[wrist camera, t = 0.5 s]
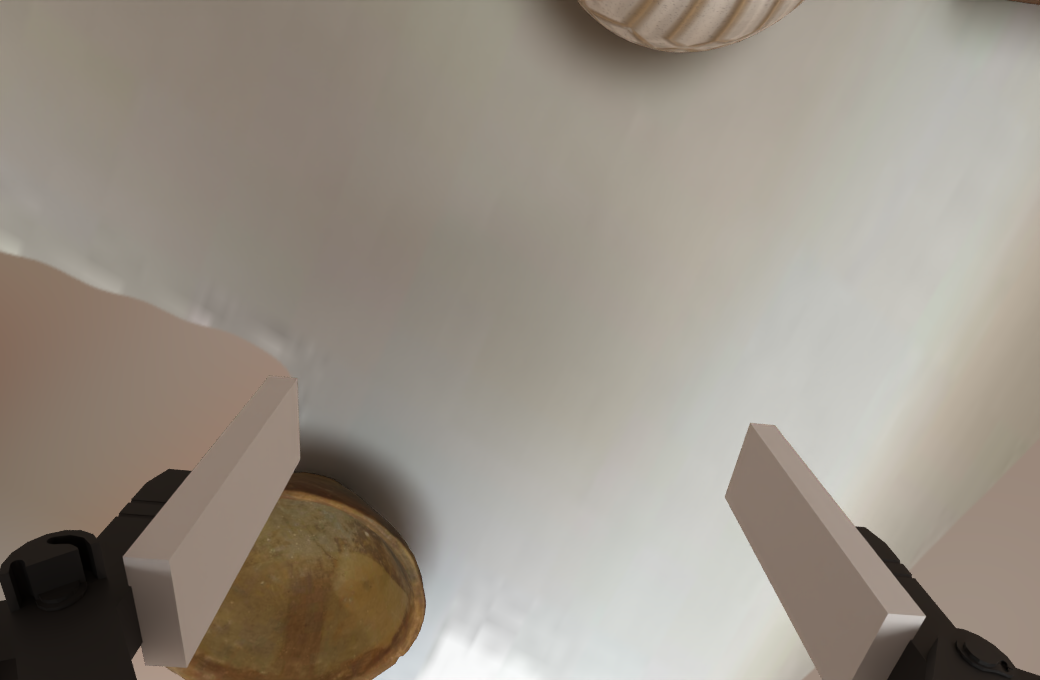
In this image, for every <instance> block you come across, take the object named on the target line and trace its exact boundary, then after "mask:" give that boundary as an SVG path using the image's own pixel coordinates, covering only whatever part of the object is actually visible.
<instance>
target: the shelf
mask: <svg viewBox="0 0 1040 680" xmlns="http://www.w3.org/2000/svg"><path fill="white" fill-rule="evenodd" d="M1010 1H1017V2H1023V3H1030V4H1037V5H1040V0H1010Z"/></svg>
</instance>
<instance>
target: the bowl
mask: <svg viewBox="0 0 1040 680" xmlns="http://www.w3.org/2000/svg"><path fill="white" fill-rule="evenodd" d="M425 608H426V600H425V593H424V588H423V582H422V576H421V573H420V570H419V567H418V565H417V562H416V559H415V557H414V555H413V553H412V552H411V550H410V548H409V547H408V545H407V544H406V542H405V541H404V540H403V538H402V537H401V536H400V534H399V533H398V532H397V531H396V530H395V529H394V528H393V526H392V525H391V524H390V523H389V522H387V521H386V520H385V519H384V518H383V517H382V516H380V515H379V514H378V513H377V512H376V511H375V510H374V509H372V508H371V507H370V506H369V505H368V504H367V503H366V502H365V501H364V500H362V499H361V498H360V497H359V496H358V495H357V494H355V493H354V492H352V491H350V490H349V489H347V488H346V487H344V486H342V485H341V484H340V483H338V482H337V481H335V480H334V479H331V478H328V477H325V476H321V475H317V474H312V473H306V472H301V473H293V474H292V476H291V477H290V479H289V481H288V483H287V485H286V487H285V488H284V490H283V492H282V494H281V496H280V498H279V499H278V501H277V503H276V505H275V507H274V509H273V510H272V512H271V514H270V516H269V518H268V520H267V521H266V523H265V525H264V527H263V529H262V531H261V532H260V534H259V536H258V538H257V540H256V542H255V543H254V545H253V547H252V549H251V551H250V553H249V555H248V556H247V558H246V560H245V562H244V564H243V566H242V567H241V569H240V571H239V573H238V575H237V577H236V578H235V580H234V582H233V584H232V586H231V588H230V589H229V591H228V593H227V595H226V597H225V599H224V600H223V602H222V604H221V606H220V608H219V610H218V611H217V613H216V615H215V617H214V619H213V621H212V622H211V624H210V626H209V628H208V630H207V632H206V633H205V635H204V637H203V639H202V641H201V643H200V644H199V646H198V648H197V650H196V652H195V654H194V655H193V657H192V659H191V661H190V663H189V665H188V666H187V668H182V667H166V668H168V669H169V670H171V671H172V672H174V673H176V674H178V675H179V676H181V677H182V678H184V679H185V680H372V679H373V678H375V677H376V676H378V675H379V674H381V673H382V672H384V671H385V670H387V669H388V668H390V667H391V666H393V665H394V664H395V663H396V662H397V660H398V658H399V657H400V656H403V655H404V654H405V653H406V652H407V651H408V650H409V648H410V647H411V646H412V644H413V642H414V641H415V639H416V638H417V636H418V634H419V632H420V630H421V627H422V623H423V620H424V615H425Z"/></svg>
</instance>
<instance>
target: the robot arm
mask: <svg viewBox="0 0 1040 680" xmlns="http://www.w3.org/2000/svg"><path fill="white" fill-rule="evenodd" d="M299 461H300V437H299V409H298V382H297V378H290V377H279V376H268V378H267V379H266V380H265V381H264V383H263V384H262V385H261V386H260V387H259V389H258V390H257V391H256V392H255V394H254V395H253V396H252V397H251V399H250V400H249V401H248V402H247V404H246V405H245V406H244V407H243V409H242V410H241V411H240V412H239V414H238V415H237V416H236V417H235V418H234V420H233V421H232V422H231V424H230V425H229V426H228V427H227V428H226V430H225V431H224V432H223V433H222V435H221V436H220V437H219V438H218V440H217V441H216V442H215V443H214V444H213V446H212V447H211V448H210V449H209V451H208V452H207V453H206V454H205V456H204V457H203V458H202V459H201V461H200V462H199V463H198V464H197V466H196V467H195V468H194V469H193V470H192V471H186V470H174V469H168V470H166V471H165V472H163V473H162V474H160V475H158V476H157V477H155V478H153V479H152V480H150V481H149V482H147V483H146V484H145V485H144V486H143V487H142V488H141V489H140V491H139V492H138V493H137V494H136V495H135V496H134V497H133V498H132V501H131V503H128V504H127V505H126V506H125V507H124V508H123V509H122V511H121V512H120V513H119V516H118V517H115V518H114V519H113V521H112V522H111V523H110V524H109V525H108V526H107V527H106V528H105V529H104V531H103V532H102V533H101V534H100V535H99V536H98V537H97V538H96V537H95V536H94V535H93V534H91V533H88V532H85V531H82V530H64V531H60V532H55V533H50V534H46V535H44V536H41V537H39V538H37V539H34V540H32V541H30V542H27V543H26V544H24V545H23V546H21V547H20V548H18V549H17V550H15V551H14V552H12V553H11V554H10V555H9V557H8V558H7V559H6V560H5V561H4V562H3V563H2V565H1V568H0V583H1V586H2V589H3V592H4V595H5V598H6V600H4V601H0V680H137V678H136V675H135V672H134V668H133V664H132V661H131V660H132V658H133V657H134V655H135V653H136V652H137V650H138V649H139V647H140V646H141V647H142V652H143V657H144V662H145V665H149V666H165V667H182V668H187V666H188V665H189V663H190V661H191V659H192V657H193V655H194V654H195V652H196V650H197V648H198V646H199V644H200V643H201V641H202V639H203V637H204V635H205V633H206V632H207V630H208V628H209V626H210V624H211V622H212V621H213V619H214V617H215V615H216V613H217V611H218V610H219V608H220V606H221V604H222V602H223V600H224V599H225V597H226V595H227V593H228V591H229V589H230V588H231V586H232V584H233V582H234V580H235V578H236V577H237V575H238V573H239V571H240V569H241V567H242V566H243V564H244V562H245V560H246V558H247V556H248V555H249V553H250V551H251V549H252V547H253V545H254V543H255V542H256V540H257V538H258V536H259V534H260V532H261V531H262V529H263V527H264V525H265V523H266V521H267V520H268V518H269V516H270V514H271V512H272V510H273V509H274V507H275V505H276V503H277V501H278V499H279V498H280V496H281V494H282V492H283V490H284V488H285V487H286V485H287V483H288V481H289V479H290V477H291V476H292V474H293V472H294V470H295V468H296V466H297V465H298V463H299ZM725 498H726V500H727V502H728V504H729V506H730V508H731V510H732V511H733V513H734V515H735V517H736V519H737V521H738V523H739V525H740V526H741V528H742V530H743V532H744V534H745V536H746V538H747V540H748V541H749V543H750V545H751V547H752V549H753V551H754V553H755V555H756V556H757V558H758V560H759V562H760V564H761V566H762V568H763V570H764V571H765V573H766V575H767V577H768V579H769V581H770V583H771V585H772V586H773V588H774V590H775V592H776V594H777V596H778V598H779V600H780V602H781V603H782V605H783V607H784V609H785V611H786V613H787V615H788V617H789V618H790V620H791V622H792V624H793V626H794V628H795V630H796V632H797V633H798V635H799V637H800V639H801V641H802V643H803V645H804V647H805V648H806V650H807V652H808V654H809V656H810V658H811V660H812V662H813V663H814V665H815V667H816V669H817V671H818V673H819V675H820V677H821V678H822V680H1040V676H1038V675H1035V674H1032V673H1029V672H1026V671H1023V670H1020V669H1017V668H1015V666H1014V665H1013V664H1012V662H1011V661H1010V660H1009V658H1008V657H1007V656H1006V655H1005V654H1004V653H1002V652H1001V651H1000V650H999V649H998V648H997V647H996V646H994V645H993V644H991V643H990V642H988V641H987V640H985V639H983V638H982V637H980V636H979V635H976V634H974V633H971V632H969V631H967V630H964V629H959V628H955V626H954V625H953V624H952V623H951V621H950V620H949V619H948V618H947V617H946V616H945V614H944V613H943V612H942V611H941V610H940V608H939V607H938V606H937V605H936V604H935V602H934V601H933V600H932V599H931V597H930V596H929V595H928V594H927V593H926V591H925V590H924V589H923V588H922V587H921V585H920V584H919V583H918V582H917V581H916V579H914V578H912V574H911V573H910V572H909V571H908V570H907V568H906V567H905V566H904V565H903V564H900V560H899V559H898V558H897V556H896V555H895V554H894V553H893V552H892V550H891V549H890V548H889V547H888V546H887V544H886V543H885V542H883V541H882V540H881V539H880V538H878V537H877V536H876V535H874V534H873V533H872V532H871V531H869V530H868V529H867V528H865V527H855V526H854V525H853V523H852V522H851V521H850V520H849V518H848V517H847V516H846V514H845V513H844V512H843V511H842V509H841V508H840V507H839V506H838V504H837V503H836V502H835V501H834V499H833V498H832V497H831V495H830V494H829V493H828V492H827V490H826V489H825V488H824V487H823V485H822V484H821V483H820V482H819V480H818V479H817V478H816V477H815V475H814V474H813V473H812V471H811V470H810V469H809V468H808V466H807V465H806V464H805V463H804V461H803V460H802V459H801V458H800V456H799V455H798V454H797V453H796V451H795V450H794V449H793V447H792V446H791V445H790V444H789V442H788V441H787V440H786V439H785V437H784V436H783V435H782V434H781V432H780V431H779V430H778V429H777V427H776V426H775V425H766V424H756V423H750V425H749V428H748V431H747V434H746V437H745V439H744V442H743V445H742V448H741V451H740V454H739V457H738V460H737V463H736V466H735V469H734V471H733V474H732V477H731V480H730V483H729V486H728V489H727V492H726V495H725Z"/></svg>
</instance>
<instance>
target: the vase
mask: <svg viewBox="0 0 1040 680" xmlns="http://www.w3.org/2000/svg"><path fill="white" fill-rule="evenodd" d="M577 1H578V2H579V4H580V5H581V6H582V7H583V8H584V9H585V10H586V11H587V12H588V14H589V15H590V16H592V17H593V18H594V19H595V20H596V21H597V22H598V23H600V24H601V25H602V26H604V27H605V28H606V29H608V30H609V31H611V32H612V33H614V34H616V35H617V36H619V37H621V38H623V39H625V40H627V41H630V42H632V43H635V44H637V45H640V46H644V47H647V48H650V49H655V50H660V51H667V52H698V51H706V50H712V49H717V48H721V47H725V46H728V45H731V44H734V43H737V42H740V41H742V40H744V39H747V38H749V37H751V36H753V35H755V34H757V33H759V32H761V31H763V30H764V29H766V28H768V27H770V26H771V25H773V24H774V23H776V22H778V21H779V20H781V19H782V18H783V17H785V16H786V15H788V14H789V13H790V12H792V11H793V10H794V9H795V8H796V7H798V6H799V5H800V4H801V3H802V2H803V1H805V0H577Z"/></svg>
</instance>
